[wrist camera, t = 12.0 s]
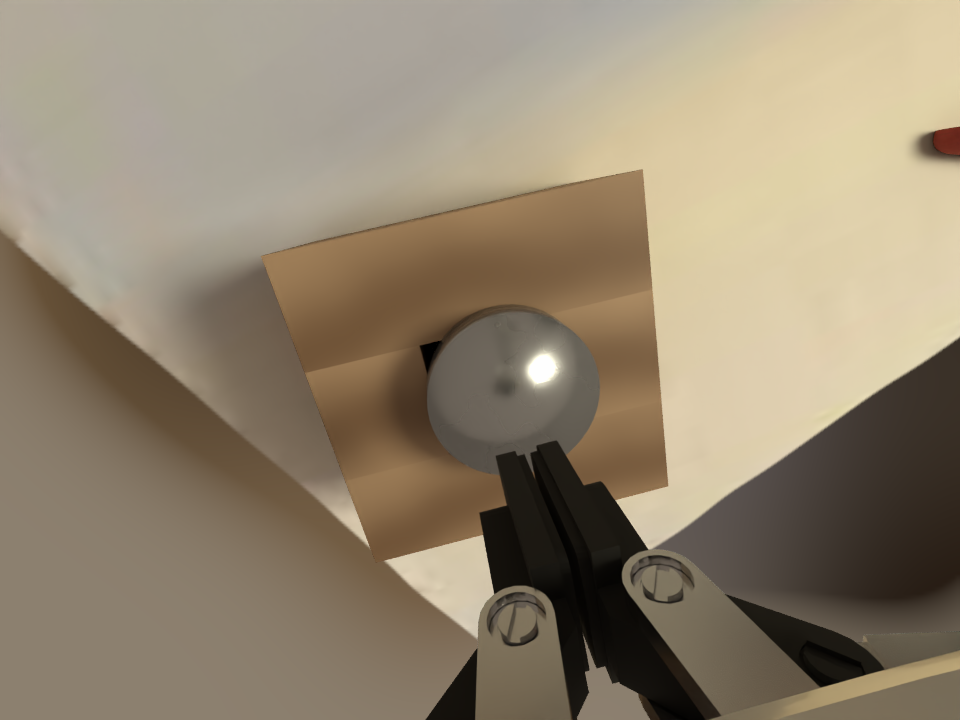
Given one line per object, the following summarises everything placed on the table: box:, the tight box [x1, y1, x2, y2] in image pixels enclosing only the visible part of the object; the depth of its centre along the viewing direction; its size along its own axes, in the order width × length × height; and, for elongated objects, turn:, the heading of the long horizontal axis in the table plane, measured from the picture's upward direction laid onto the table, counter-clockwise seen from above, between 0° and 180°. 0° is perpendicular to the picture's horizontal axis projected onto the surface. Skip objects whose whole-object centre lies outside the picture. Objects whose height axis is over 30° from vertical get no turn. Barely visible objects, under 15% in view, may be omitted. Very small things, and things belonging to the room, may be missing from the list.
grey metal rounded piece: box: [427, 304, 600, 475], centre depth 21 cm, size 7×7×9 cm
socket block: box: [261, 169, 668, 563], centre depth 22 cm, size 14×14×8 cm
